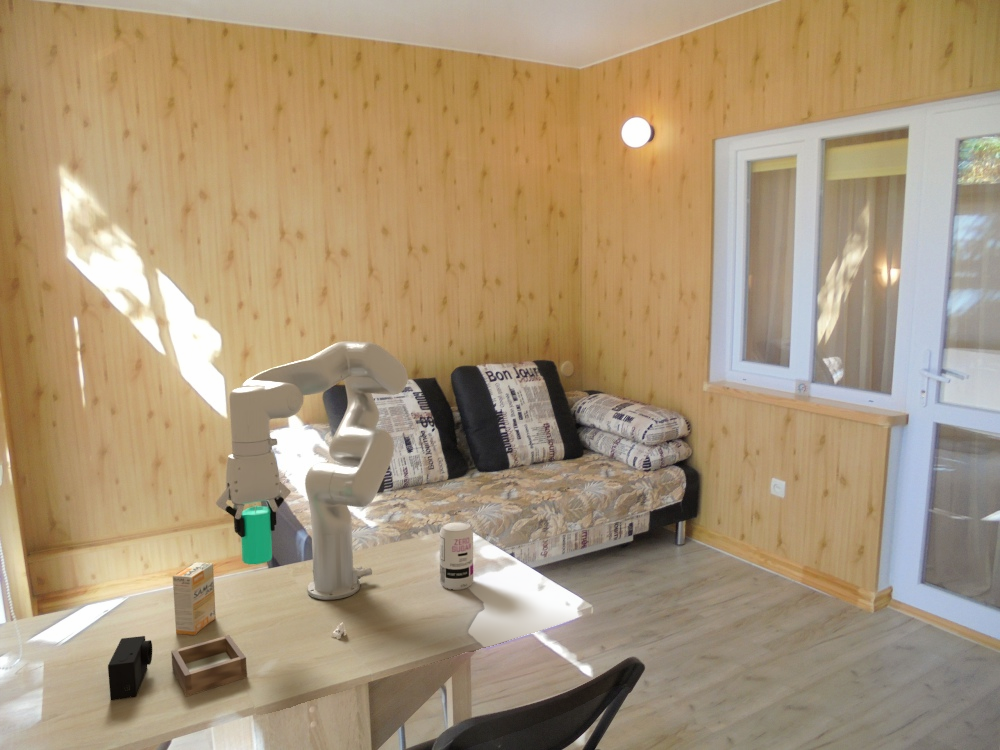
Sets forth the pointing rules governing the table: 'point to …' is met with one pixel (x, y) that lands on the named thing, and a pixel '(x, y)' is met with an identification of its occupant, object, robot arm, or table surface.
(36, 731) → the table surface
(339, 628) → the white irregular piece
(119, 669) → the digital camera
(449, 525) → the supplement can
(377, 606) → the table surface
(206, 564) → the supplement box
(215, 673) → the open wooden box
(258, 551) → the candle
